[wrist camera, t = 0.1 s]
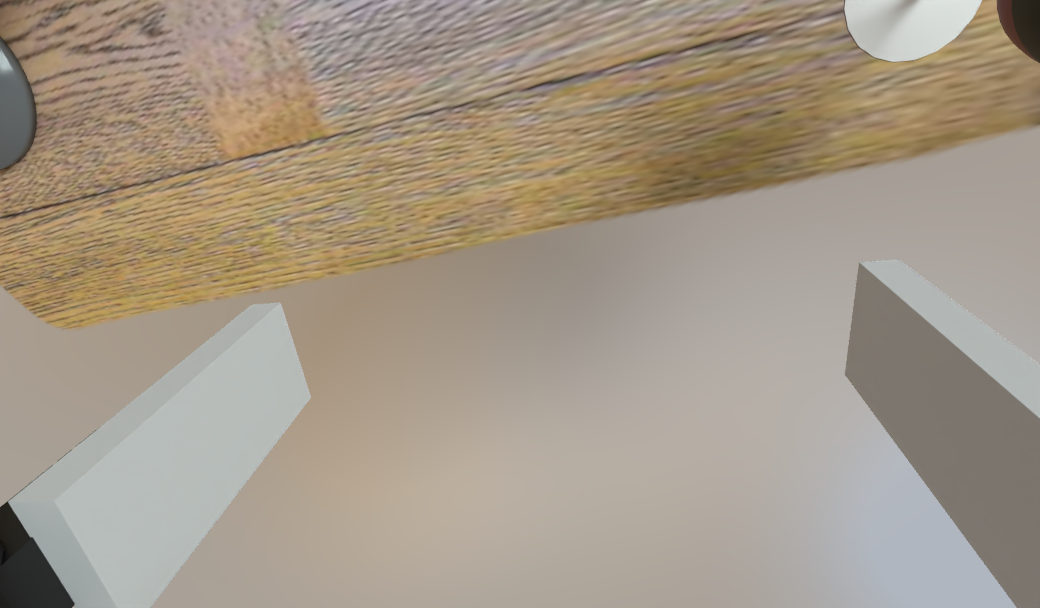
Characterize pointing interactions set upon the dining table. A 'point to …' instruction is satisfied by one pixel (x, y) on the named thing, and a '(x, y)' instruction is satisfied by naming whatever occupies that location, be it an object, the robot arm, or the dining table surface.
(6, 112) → the gray round coaster
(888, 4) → the wineglass
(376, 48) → the dining table surface
